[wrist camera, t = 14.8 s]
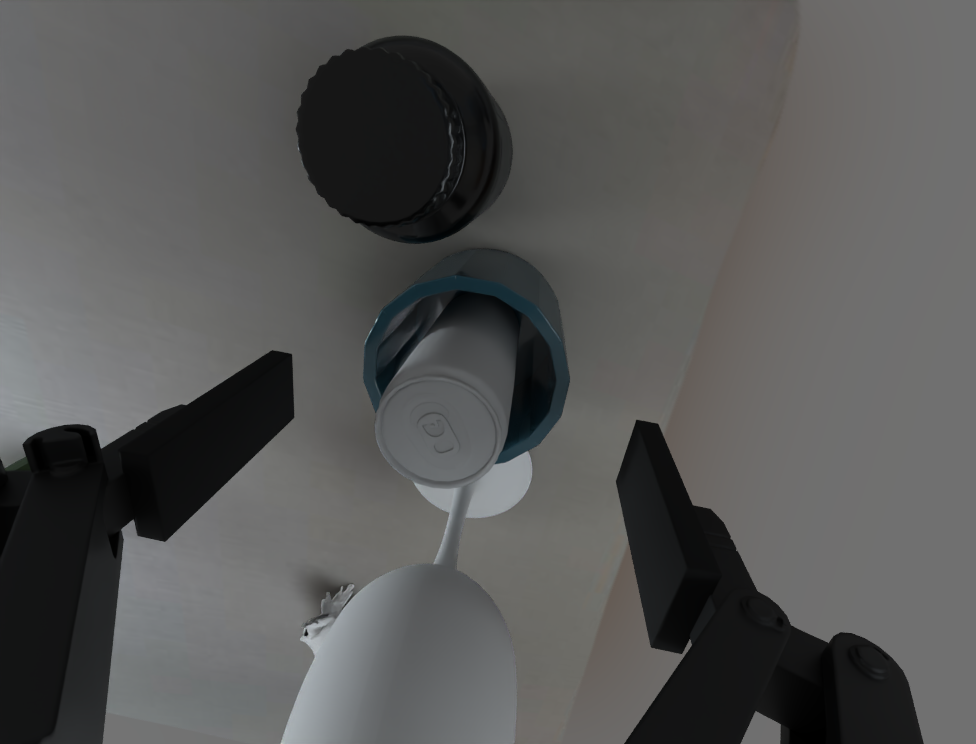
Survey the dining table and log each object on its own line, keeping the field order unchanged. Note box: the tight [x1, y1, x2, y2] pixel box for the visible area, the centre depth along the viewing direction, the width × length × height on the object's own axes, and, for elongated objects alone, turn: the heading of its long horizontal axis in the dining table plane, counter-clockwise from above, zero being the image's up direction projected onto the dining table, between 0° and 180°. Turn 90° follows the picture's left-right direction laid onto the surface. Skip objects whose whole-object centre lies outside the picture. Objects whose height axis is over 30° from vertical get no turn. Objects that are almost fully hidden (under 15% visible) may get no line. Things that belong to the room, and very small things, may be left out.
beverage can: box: [374, 292, 519, 489], centre depth 21 cm, size 5×5×12 cm
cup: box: [363, 248, 570, 464], centre depth 24 cm, size 9×9×8 cm
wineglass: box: [281, 451, 532, 744], centre depth 22 cm, size 9×9×21 cm
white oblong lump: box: [300, 584, 354, 656], centre depth 37 cm, size 5×7×10 cm
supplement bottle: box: [296, 36, 513, 244], centre depth 19 cm, size 7×7×12 cm
